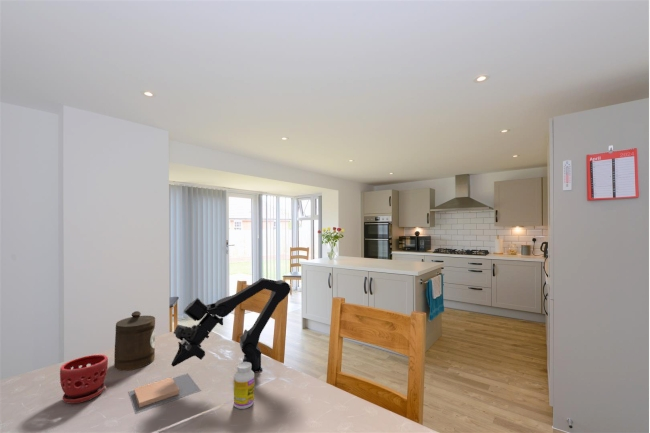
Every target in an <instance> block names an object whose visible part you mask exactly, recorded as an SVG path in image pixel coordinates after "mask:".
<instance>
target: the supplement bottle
mask: <svg viewBox="0 0 650 433" xmlns="http://www.w3.org/2000/svg"><path fill="white" fill-rule="evenodd" d="M251 368H252V364H251V363H250V362H243V361H242V362H239V363H238V364H237V366H236V369H237V370H236V372H235V373H234V374H233V375H234V376H233V405H234V407H235V408H236V409H240V410H245V409H247V408H250V407H251V406H253V404H254V403H255V373H254V372H253V371H252V370H251Z"/></svg>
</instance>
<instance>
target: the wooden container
mask: <svg viewBox="0 0 650 433" xmlns="http://www.w3.org/2000/svg"><path fill="white" fill-rule="evenodd" d="M155 328H156V317H155V316H153V315H142V314H141V311H138V310H137V311H134V312H132V313H131V316H130V317H126V318H123V319H120V320H118V321H116V323H115V337H114V362H113V364H114V365H113V366H114V369H116V370H118V371H132V370H136V369H141V368H143V367H146V366H147V365H148V366H149V365H150V364H151V363H152V362H154V360H155V356H156V353H155V351H156V350H155V349H156V329H155Z"/></svg>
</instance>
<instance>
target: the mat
mask: <svg viewBox="0 0 650 433" xmlns="http://www.w3.org/2000/svg"><path fill="white" fill-rule="evenodd" d="M172 379H173V380H174V382H175V383H176V385H177V386H178V388H179V394H178V395H175V396H172V397H169V398H166V399H163V400H160V401H158V402H155V403H152V404H149V405H146V406H143V407H140V408H139V405H138V402H137V400H136V397H135V394H134V389H133V390H131V391H128V396H129V398H130V402H131V405H132V408H133V411H134V414H135V415H137V414H139V413H142V412H146V411H148V410H150V409H153V408H157V407H159V406H162V405H165V404H168V403H170V402H173V401H176V400H178V399H181V398H185V397H188V396H190V395H194V394H196V393H198V392H202V390H201V389H200V387H199V386H198V385H197V383H196V382H195V381H194V379H193V378H192V377H191V376H190V374H189V373H185V374H181V375H178V376H175V377H172Z"/></svg>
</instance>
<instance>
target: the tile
mask: <svg viewBox="0 0 650 433" xmlns="http://www.w3.org/2000/svg"><path fill="white" fill-rule="evenodd" d="M172 378H173V377H172V376H171V377H168V378H164V379H161V380H158V381H155V382H151V383H148V384H145V385H141V386H139V387H134V388H133V390H134V394H135V397H136V400H137V402H138V405H139V408H140V407H143V406H146V405H149V404H152V403H155V402H158V401H160V400H163V399H166V398H169V397H172V396H175V395H178V394H179V388H178V386H177V385H176V383H175V382H174V380H173V379H172Z"/></svg>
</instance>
